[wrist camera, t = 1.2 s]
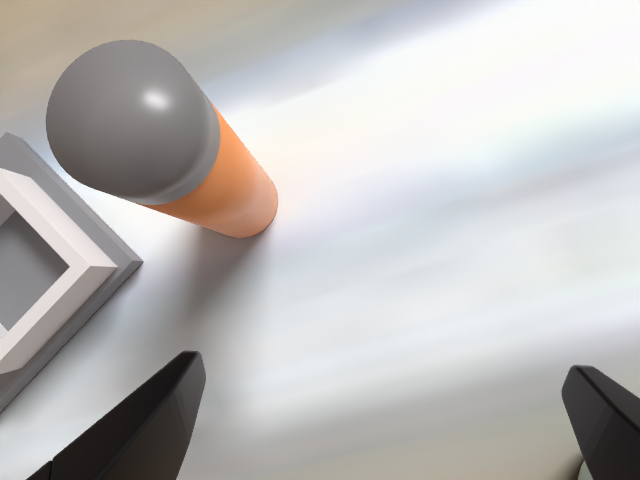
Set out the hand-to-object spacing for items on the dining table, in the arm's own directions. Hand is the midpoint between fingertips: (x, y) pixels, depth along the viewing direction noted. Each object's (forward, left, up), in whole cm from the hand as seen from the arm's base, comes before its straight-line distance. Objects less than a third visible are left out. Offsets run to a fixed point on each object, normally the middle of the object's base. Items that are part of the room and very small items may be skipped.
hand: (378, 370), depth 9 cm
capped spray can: (0, +10, -14) cm, 17 cm away
